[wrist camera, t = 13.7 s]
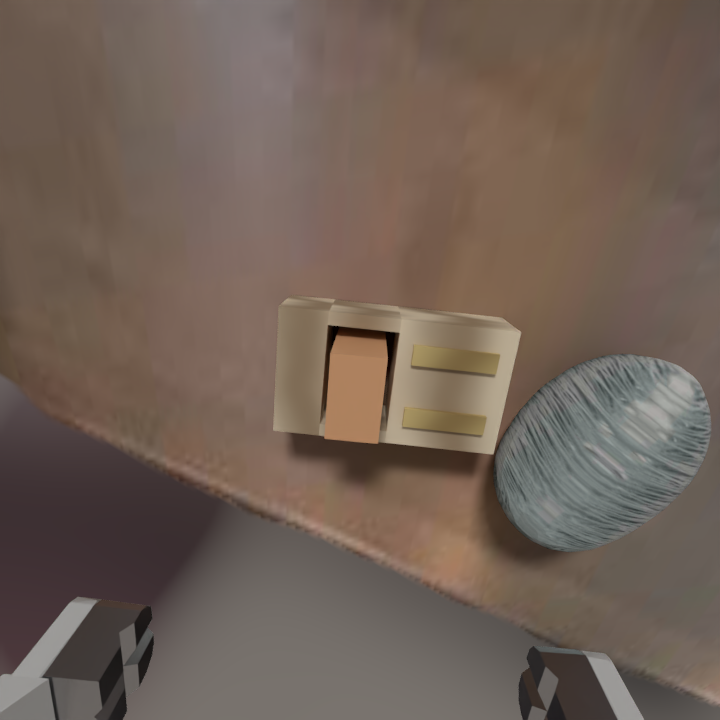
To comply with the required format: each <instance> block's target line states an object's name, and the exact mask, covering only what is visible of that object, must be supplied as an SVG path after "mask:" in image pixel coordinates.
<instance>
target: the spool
mask: <svg viewBox="0 0 720 720" xmlns="http://www.w3.org/2000/svg"><path fill="white" fill-rule="evenodd" d="M710 436H711V418H710V410H709V407H708V403H707V400H706V397H705V394H704V392H703V390H702V387H701V385H700V384H699V382H698V381H697V380H696V379H695V377H693V376H692V375H691V374H689V373H688V372H687V371H685V370H684V369H683V368H681V367H680V366H677V365H675V364H672V363H670V362H667V361H664V360H661V359H656V358H650V357H646V356H639V355H633V354H618V355H608V356H602V357H599V358H595V359H592V360H588V361H585V362H583V363H580V364H578V365H576V366H574V367H572V368H570V369H568V370H566V371H565V372H563V373H562V374H560V375H559V376H557V377H556V378H554V379H552V380H551V381H549V382H548V383H547V384H545V385H544V386H543V387H542V388H540V389H539V390H538V391H537V392H536V393H535V394H534V395H533V396H532V397H531V398H530V400H529V401H528V402H527V403H526V404H525V405H524V406H523V408H522V409H521V410H520V411H519V412H518V414H517V415H516V417H515V418H514V420H513V421H512V423H511V425H510V426H509V427H508V429H507V431H506V432H505V434H504V436H503V438H502V439H501V441H500V444H499V447H498V450H497V453H496V456H495V463H494V486H495V490H496V494H497V497H498V501H499V503H500V505H501V507H502V509H503V511H504V512H505V514H506V516H507V518H508V519H509V520H510V522H511V523H512V524H513V525H514V526H515V527H516V528H517V529H518V531H520V532H521V533H522V534H523V535H524V536H525V537H527V538H528V539H530V540H531V541H533V542H535V543H537V544H539V545H541V546H544V547H546V548H548V549H553V550H558V551H565V552H575V551H584V550H591V549H595V548H598V547H601V546H603V545H606V544H608V543H610V542H612V541H615V540H617V539H620V538H622V537H623V536H625V535H627V534H629V533H630V532H632V531H634V530H635V529H637V528H638V527H640V526H641V525H643V524H644V523H646V522H647V521H649V520H650V519H652V518H653V517H655V516H656V515H657V514H659V513H660V512H661V511H662V510H663V509H665V508H666V507H667V506H668V505H669V504H670V503H671V502H672V501H673V500H674V499H675V498H676V497H677V496H678V495H679V494H680V493H681V492H682V491H683V490H684V489H685V488H686V487H687V486H688V485H689V483H690V482H691V481H692V480H693V478H694V476H695V475H696V473H697V471H698V470H699V468H700V466H701V464H702V462H703V460H704V458H705V456H706V452H707V449H708V445H709V440H710Z"/></svg>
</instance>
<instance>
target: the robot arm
mask: <svg viewBox="0 0 720 720" xmlns="http://www.w3.org/2000/svg"><path fill="white" fill-rule="evenodd" d="M151 620H152V610H151V606H145V605H138V604H131V603H123V602H116V601H109V600H101V599H92V598H84V597H77V598H76V599H74V600H73V601H71V602H70V603H69V604H68V605H67V607H66V608H65V609H64V610H63V611H62V613H61V614H60V615H59V616H58V618H57V619H56V620H55V621H54V623H53V624H52V625H51V626H50V628H49V629H48V630H47V631H46V632H45V634H44V635H43V636H42V638H41V639H40V640H39V641H38V642H37V644H36V645H35V646H34V647H33V649H32V650H31V651H30V652H29V654H28V655H27V656H26V657H25V659H24V660H23V661H22V662H21V664H20V665H19V666H18V667H17V669H16V670H15V671H14V672H13V674H3V675H1V676H0V720H123V718H124V716H125V714H126V712H127V704H126V697H127V696H129V695H130V694H131V693H132V692H133V691H135V690H136V689H137V688H138V687H139V686H140V684H141V682H142V680H143V678H144V676H145V674H146V672H147V669H148V666H149V663H150V660H151V657H152V652H153V645H154V636H153V633H152V632H151V631H150V630H149V629H148V625H149V624H150V622H151ZM527 661H528V664H529V667H530V668H528V669H527V670H525V671H524V672H523V673H522V674H521V678H520V682H519V705H520V710H521V715H522V718H523V720H644V719H643V717H642V715H641V713H640V712H639V710H638V708H637V706H636V704H635V703H634V701H633V699H632V697H631V695H630V694H629V692H628V690H627V688H626V686H625V684H624V683H623V681H622V679H621V677H620V675H619V674H618V672H617V670H616V668H615V666H614V665H613V663H612V661H611V659H610V658H609V657H608V656H607V655H606V654H605V653H597V652H588V651H578V650H574V649H563V648H552V647H540V646H533V647H531V648H530V649H529V652H528V655H527Z"/></svg>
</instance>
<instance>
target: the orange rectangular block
mask: <svg viewBox="0 0 720 720" xmlns="http://www.w3.org/2000/svg"><path fill="white" fill-rule="evenodd" d="M387 362H388V355H387V344H386V334H385V331H379V330H370V329H361V328H351V327H342V326H340V327H339V330H338V332H337V335H336V338H335V341H334V344H333V347H332V350H331V353H330V365H329V379H328V393H327V408H326V422H325V436H324V439H331V440H342V441H352V442H362V443H373V444H378V440H379V432H380V423H381V414H382V405H383V397H384V388H385V379H386V371H387Z"/></svg>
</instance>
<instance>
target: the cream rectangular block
mask: <svg viewBox="0 0 720 720" xmlns="http://www.w3.org/2000/svg"><path fill="white" fill-rule="evenodd" d="M333 326H342V327H351V328H361V329H370V330H379V331H388V332H395V334H394V341H393V349H392V356H391V364H390V372H389V379H388V387H387V394H386V402H385V405H382V414H381V423H380V432H379V440H378V442H383V443H392V444H401V445H410V446H420V447H429V448H438V449H447V450H456V451H466V452H475V453H484V454H494V450H495V445H496V441H497V437H498V432H499V428H500V423H501V419H502V415H503V410H504V406H505V401H506V397H507V393H508V388H509V384H510V379H511V375H512V371H513V366H514V362H515V357H516V353H517V349H518V344H519V340H520V335H521V332H520V331H519V330H518V329H516V328H515V327H513V326H512V325H511V324H509V323H508V322H507V321H505V320H504V319H503V318H501V317H492V316H482V315H473V314H464V313H455V312H446V311H436V310H427V309H418V308H409V307H399V306H390V305H381V304H372V303H362V302H353V301H344V300H335V299H325V298H316V297H307V296H298V295H291V296H290V297H289V298H288V299H286V300H285V301H284V302H283V303H282V304H280V305H279V311H278V334H277V357H276V380H275V403H274V426H273V431H282V432H291V433H300V434H310V435H319V436H325V422H326V408H327V391H328V379H329V365H330V353H331V343H332V332H333Z"/></svg>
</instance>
